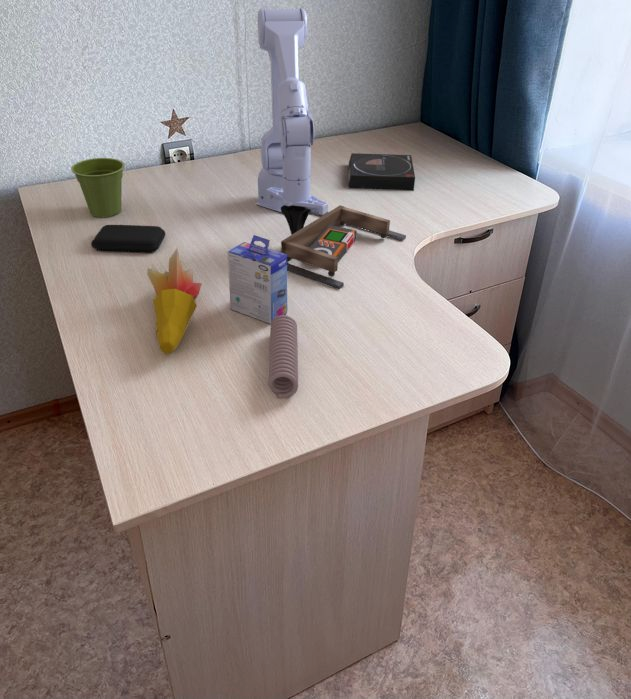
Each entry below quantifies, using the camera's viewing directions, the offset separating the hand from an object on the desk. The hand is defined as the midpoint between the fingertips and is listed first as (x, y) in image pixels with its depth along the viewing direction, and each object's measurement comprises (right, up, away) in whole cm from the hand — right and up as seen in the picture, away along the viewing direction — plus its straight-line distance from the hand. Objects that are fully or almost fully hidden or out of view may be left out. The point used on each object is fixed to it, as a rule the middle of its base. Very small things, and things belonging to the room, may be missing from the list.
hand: (296, 236), depth 144 cm
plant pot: (-46, +8, +15) cm, 49 cm away
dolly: (+9, -3, +1) cm, 9 cm away
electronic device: (+7, -4, +1) cm, 8 cm away
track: (+6, -2, +2) cm, 6 cm away
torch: (-22, -20, -23) cm, 37 cm away
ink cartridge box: (-6, -18, -19) cm, 27 cm away
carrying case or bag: (-37, -1, +3) cm, 37 cm away
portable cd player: (+21, +21, +35) cm, 46 cm away
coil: (-1, -27, -32) cm, 42 cm away
